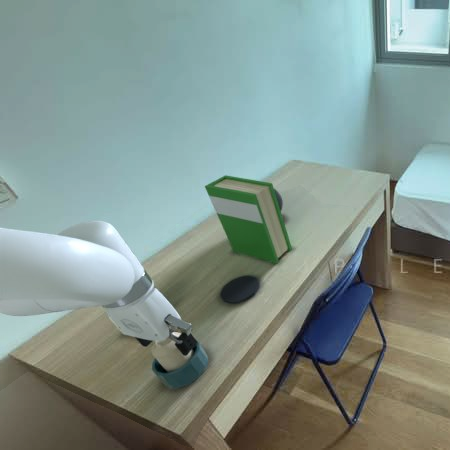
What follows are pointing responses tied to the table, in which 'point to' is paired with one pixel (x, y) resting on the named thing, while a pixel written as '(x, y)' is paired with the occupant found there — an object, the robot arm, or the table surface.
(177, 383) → the holder cup
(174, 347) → the candle
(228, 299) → the coaster
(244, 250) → the hardback book
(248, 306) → the table surface
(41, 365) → the table surface
